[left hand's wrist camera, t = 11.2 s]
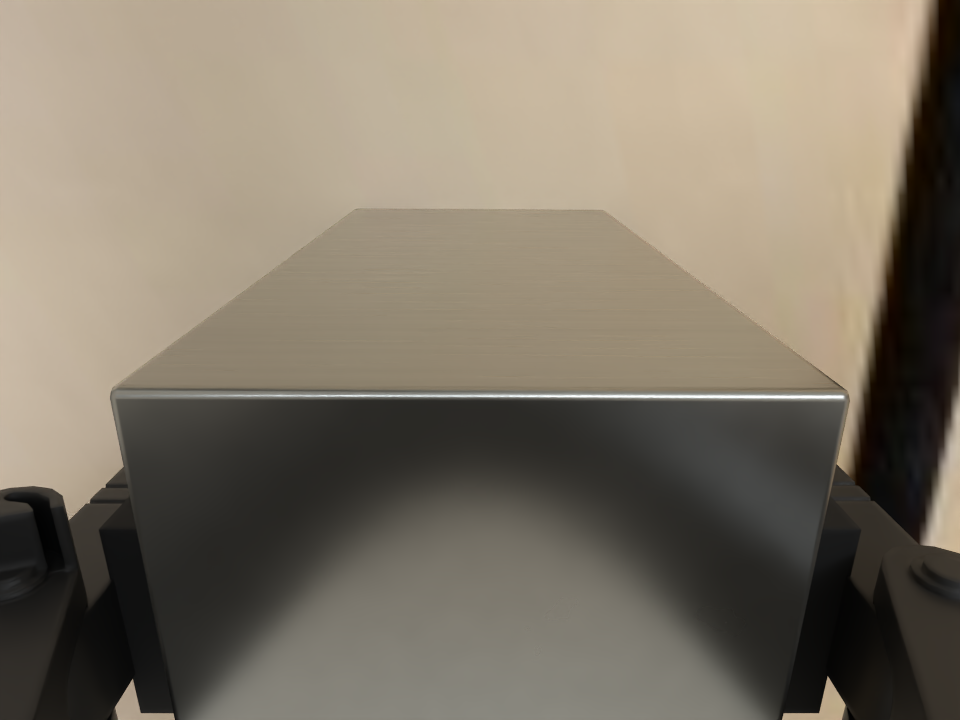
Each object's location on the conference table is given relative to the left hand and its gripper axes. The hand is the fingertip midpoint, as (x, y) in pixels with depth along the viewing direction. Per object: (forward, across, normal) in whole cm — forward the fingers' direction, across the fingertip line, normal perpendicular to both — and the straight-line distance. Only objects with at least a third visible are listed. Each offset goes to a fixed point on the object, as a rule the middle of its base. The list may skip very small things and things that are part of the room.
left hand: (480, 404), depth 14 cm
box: (+3, 0, -7) cm, 8 cm away
